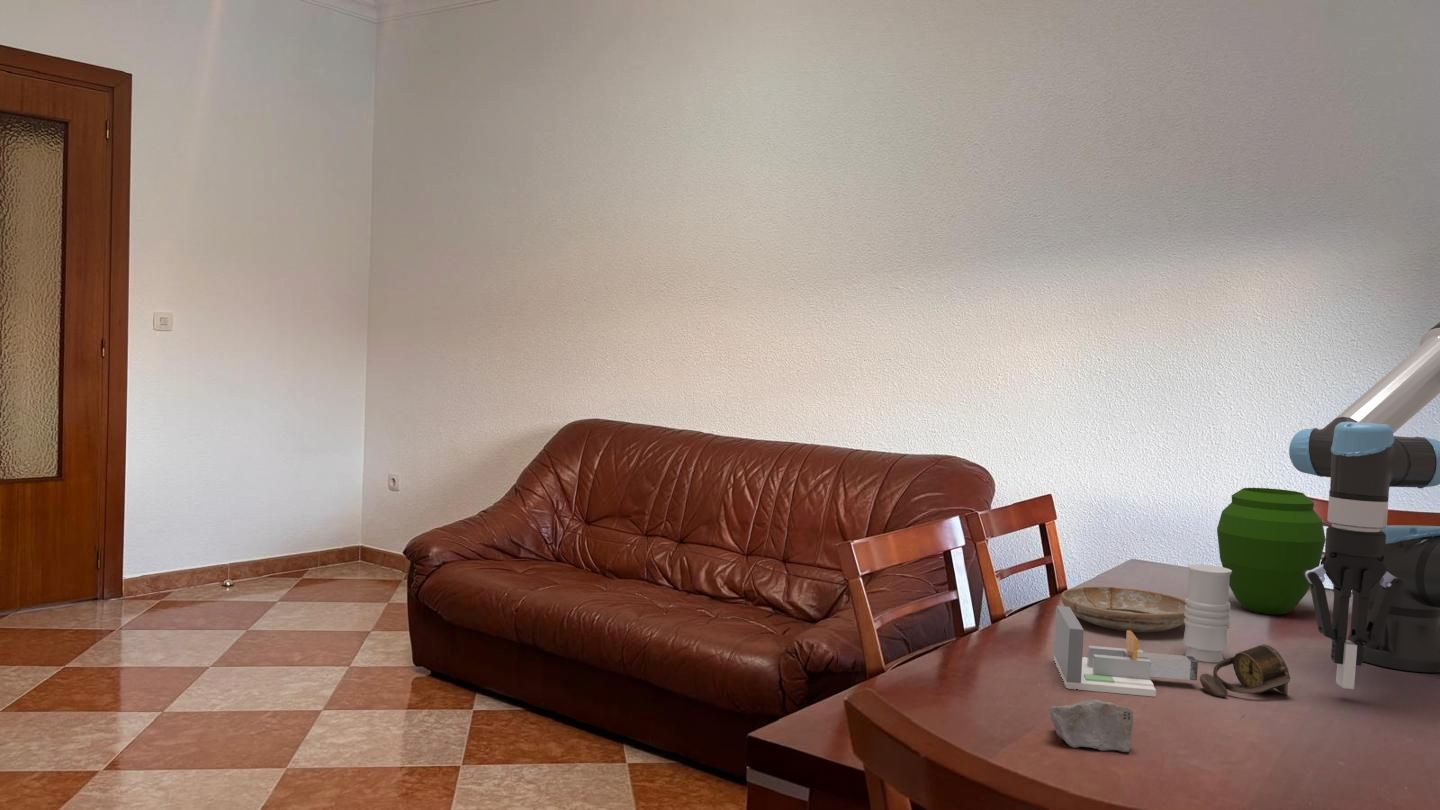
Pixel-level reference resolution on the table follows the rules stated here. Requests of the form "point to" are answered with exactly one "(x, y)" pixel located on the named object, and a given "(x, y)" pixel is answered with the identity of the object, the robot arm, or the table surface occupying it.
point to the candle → (1207, 612)
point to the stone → (1094, 725)
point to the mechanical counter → (1251, 673)
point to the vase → (1270, 547)
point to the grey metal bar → (1163, 661)
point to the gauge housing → (1097, 662)
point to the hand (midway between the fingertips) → (1344, 685)
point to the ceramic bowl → (1125, 608)
